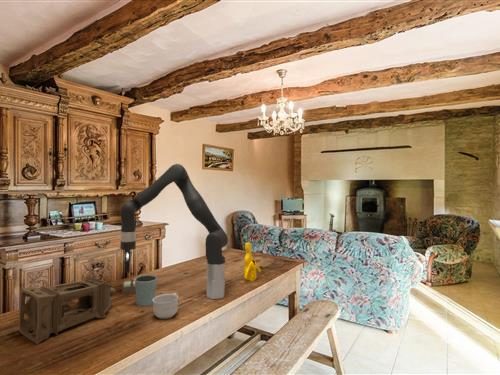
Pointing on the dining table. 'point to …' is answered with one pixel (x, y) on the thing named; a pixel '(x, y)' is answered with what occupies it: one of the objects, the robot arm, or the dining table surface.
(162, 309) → the teacup
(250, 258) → the figure statuette
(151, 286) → the grey-green tumbler
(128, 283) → the sage key
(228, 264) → the dining table surface
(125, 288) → the key console
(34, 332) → the brown lantern
